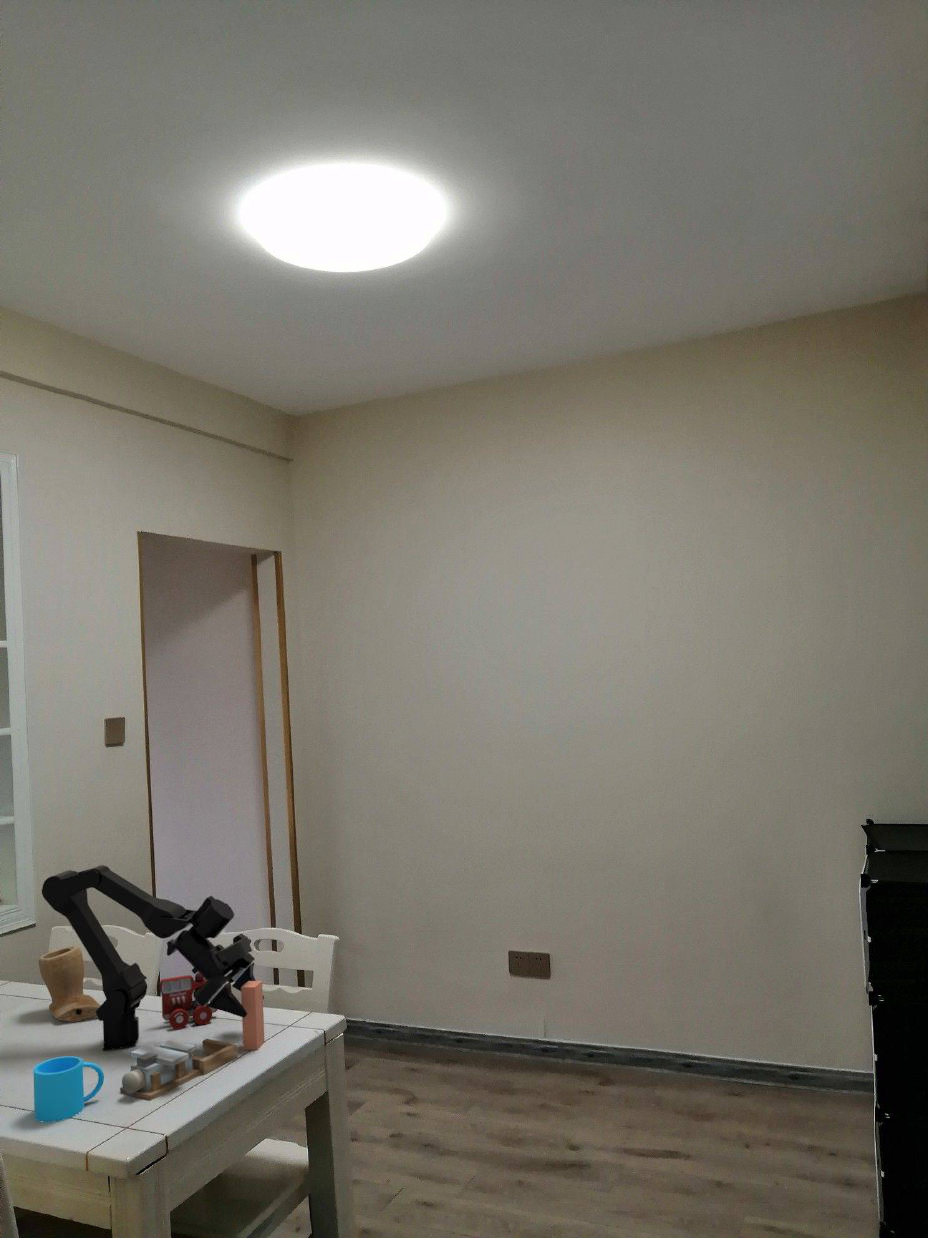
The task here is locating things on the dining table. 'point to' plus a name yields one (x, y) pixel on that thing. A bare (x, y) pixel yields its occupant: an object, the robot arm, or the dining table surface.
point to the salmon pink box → (252, 1015)
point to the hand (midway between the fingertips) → (254, 1008)
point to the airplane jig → (172, 1066)
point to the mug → (61, 1088)
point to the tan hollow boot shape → (67, 984)
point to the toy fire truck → (183, 1001)
